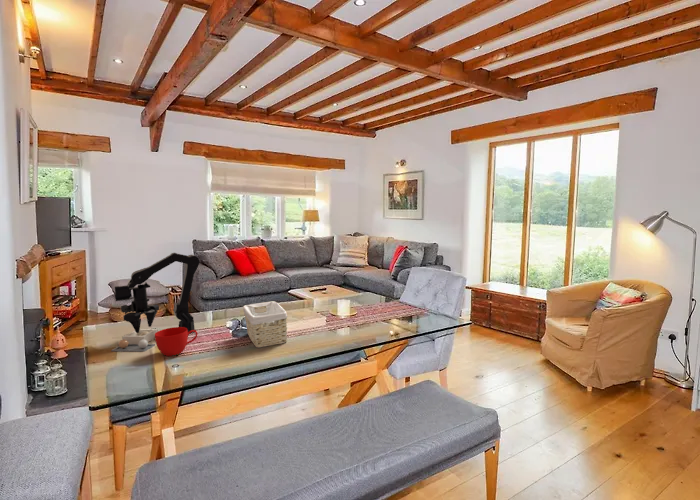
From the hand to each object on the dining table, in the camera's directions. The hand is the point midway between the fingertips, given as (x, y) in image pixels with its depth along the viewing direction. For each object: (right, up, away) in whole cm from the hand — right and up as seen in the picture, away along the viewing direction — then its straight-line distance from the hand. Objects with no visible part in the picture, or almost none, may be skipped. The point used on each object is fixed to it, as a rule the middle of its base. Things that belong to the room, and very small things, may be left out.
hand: (143, 329), depth 196 cm
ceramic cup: (+24, -7, -18) cm, 31 cm away
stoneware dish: (-2, -6, +1) cm, 6 cm away
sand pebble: (0, -5, +1) cm, 5 cm away
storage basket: (+59, -4, -4) cm, 60 cm away
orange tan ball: (-4, -6, -10) cm, 12 cm away
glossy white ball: (+5, -6, -11) cm, 14 cm away
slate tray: (+1, -7, -10) cm, 12 cm away
